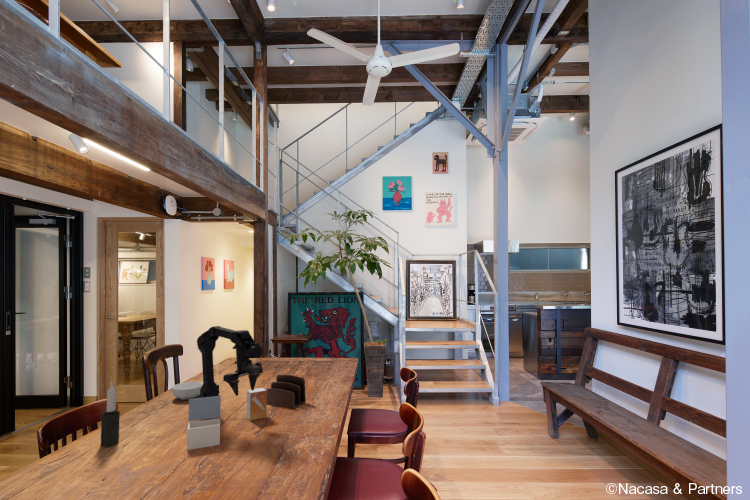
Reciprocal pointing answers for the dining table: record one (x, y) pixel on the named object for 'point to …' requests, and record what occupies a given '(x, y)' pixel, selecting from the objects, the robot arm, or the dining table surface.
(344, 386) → the dining table surface
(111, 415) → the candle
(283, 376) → the letter holder
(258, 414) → the small box
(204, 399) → the lid
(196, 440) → the storage box
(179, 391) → the cereal bowl
